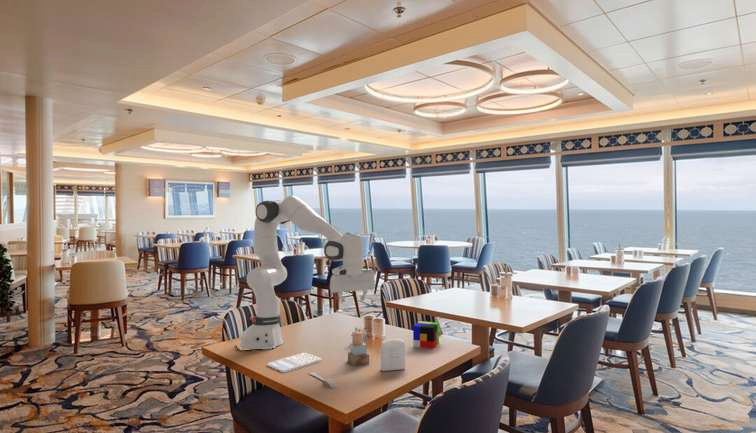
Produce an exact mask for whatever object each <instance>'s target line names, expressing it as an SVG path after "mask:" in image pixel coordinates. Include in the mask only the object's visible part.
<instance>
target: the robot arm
mask: <svg viewBox="0 0 756 433" xmlns="http://www.w3.org/2000/svg"><path fill="white" fill-rule="evenodd" d="M255 216H256V218H255V221H254V227H253V228H254V229H253V243H254V244H253V245H254V253H255V254H254V255H255V256H257V258H258V260H259V262H260V264H261V265H260V266H256V267H254V268H253V269H251V270H250V271H249V272H248V273H247V275H246V284H247V285H248V287H249V288H250V289H251V290H252V292H253V295H254V297H255V303H256V304H255V306H256V315H255V316H254V315H251V316H250V318H249V319H250V320H251V322H252V324H251V325H250V326H248V327H247V328H246V329H245V330H243V332H242V333H241V335H240V341H239V342H240V347H242V350H244V349H263V350H272V348H274V349H276V348H277V347H279V346H281V345H282V344H284V340H283V336H282V332H281V324H282V318H281V317H282V316H281V314H280V312H281V311H280V298H279V297H278V296H277V295H276V292H275V289H274V287H275V286H279V285H281V284H282V283H283V282H284V281H286V279H287V277H288V270H287V268H286V267H285V266H284V265H283V263H282V261H281V257H280V254H279V248H278V232H277V230H278V229H277V228H278V226H279V225H284V224H286V223H288V222H291V223H292V224H293V225H294V226H295V227H296V228H298V229H299V230H301V231H302V232H309V233H313V234H314V233H315V234H319V235H322V236H323V237H324V238H326V239H327V240H328V241H327V242H326V243H325V244H324V247H323V255H324V257H325V258H326V259H327V260H328V261H332V262H339V261H340V262H341V261H342V265H340V266H337V267H335V268H333V269H332V270H331V272H332V275H331V277H330V280H329V290H330V291H331V292H332V293H337V295H338V297H339V300H340V303H346V302H345V300H346V298H345V297H343V293H347V292H361V291H362V294H361V295H360V296H359V297H360V298H359V299H360V301H365V299H366V297H367V294H368V291H373V290H374V289H375V288H376V284H375V283H376V281H375V277H376V276H375V271H374V269H372V268H368V269H367V268H364V261H363V255H364V240H363V236H362V235H361V234H359V233H357V232H349V231H347V232H345V233H344V234H343V233H342V232H341V231H339V230H338V229H337V228H336V227H335V226H334V225H332V224H331V223H330V222H328V221H327V220H326V219H325V218H323V216H321V215H319V214H318V212H316V211H315V209H313V208H312V207H310V205H309V204H308V203H306V202H305V201H304V200H302V199H301V198H300V197H298V196H296V195H293V194H291V195H287V196H286V197H285V198H284V199H283V200H282V199H275V200H264V201H261V202H259V203H258V204H257V206H256V208H255ZM276 346H277V347H276ZM238 347H239V346H238ZM240 347H239V349H240ZM275 347H276V348H275Z"/></svg>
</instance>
